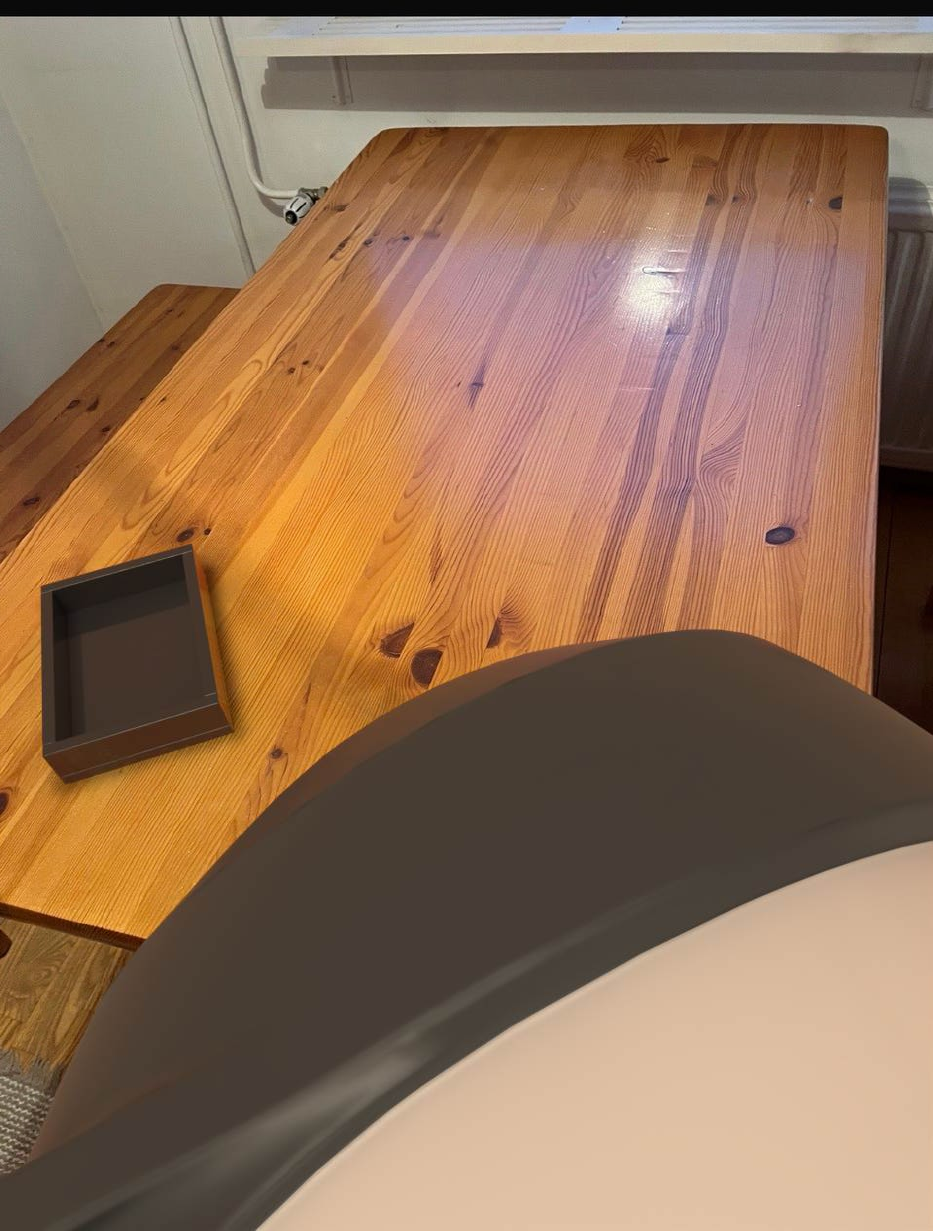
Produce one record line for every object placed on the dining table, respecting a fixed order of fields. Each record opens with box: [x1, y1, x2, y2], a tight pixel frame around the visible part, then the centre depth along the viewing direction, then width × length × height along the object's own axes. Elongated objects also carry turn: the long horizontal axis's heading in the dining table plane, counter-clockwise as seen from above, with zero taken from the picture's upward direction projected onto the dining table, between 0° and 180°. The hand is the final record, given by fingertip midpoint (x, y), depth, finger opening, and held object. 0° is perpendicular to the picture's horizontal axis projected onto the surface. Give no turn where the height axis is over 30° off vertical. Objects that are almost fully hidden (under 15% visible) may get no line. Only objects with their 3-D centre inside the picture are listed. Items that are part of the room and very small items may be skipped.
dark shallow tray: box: [40, 543, 235, 785], centre depth 75 cm, size 18×13×4 cm
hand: (743, 893), depth 52 cm, fingers open, 6 cm apart
